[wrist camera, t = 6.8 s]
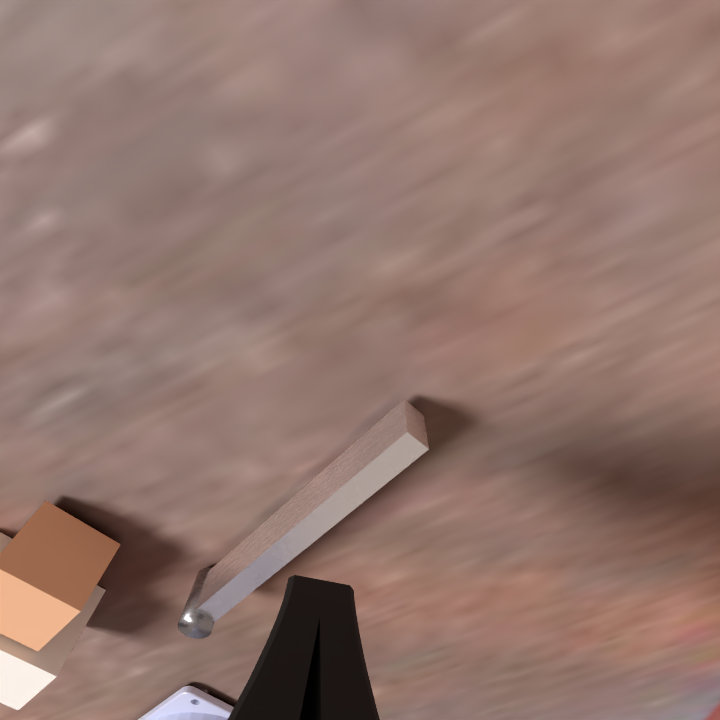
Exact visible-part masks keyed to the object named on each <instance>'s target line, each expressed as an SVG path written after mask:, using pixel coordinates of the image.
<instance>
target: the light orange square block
mask: <svg viewBox="0 0 720 720" xmlns="http://www.w3.org/2000/svg"><path fill="white" fill-rule="evenodd" d="M120 545H121V544H119V543H117V542H116V541H114V540H112V539H111V538H109V537H107V536H105V535H104V534H102V533H100V532H99V531H97V530H95V529H93V528H92V527H90V526H88V525H87V524H85V523H83V522H82V521H80V520H78V519H76V518H75V517H73V516H71V515H70V514H68V513H66V512H64V511H63V510H61V509H59V508H58V507H56V506H54V505H52V504H51V503H49V502H47V501H45V502H44V503H43V504H42V506H41V507H40V508H39V509H38V510H37V511H36V513H35V514H34V515H33V516H32V517H31V518H30V519H29V521H28V522H27V523H26V524H25V525H24V526H23V528H22V529H21V530H20V531H19V532H18V533H17V535H16V536H15V537H14V538H13V539H12V540H11V542H10V543H9V544H8V545H7V546H6V547H5V548H4V550H3V551H2V552H1V553H0V634H3V635H5V636H7V637H9V638H11V639H13V640H15V641H17V642H19V643H21V644H23V645H25V646H27V647H29V648H32V649H34V650H36V651H39V650H40V649H41V648H42V647H43V646H45V645H46V644H47V643H48V642H49V641H50V640H51V639H52V638H53V637H54V636H55V635H56V634H57V633H58V632H59V631H60V630H61V629H63V628H64V627H65V626H66V625H67V624H68V623H69V622H70V621H71V620H72V619H73V618H74V617H75V616H76V615H77V614H78V613H80V612H81V610H82V608H83V607H84V605H85V603H86V602H87V600H88V598H89V597H90V595H91V593H92V592H93V590H94V588H95V587H96V585H97V583H98V582H99V580H100V578H101V577H102V575H103V573H104V572H105V570H106V568H107V567H108V565H109V563H110V562H111V560H112V558H113V557H114V555H115V553H116V552H117V550H118V548H119V547H120Z"/></svg>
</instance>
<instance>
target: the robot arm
mask: <svg viewBox="0 0 720 720" xmlns="http://www.w3.org/2000/svg"><path fill="white" fill-rule="evenodd" d="M138 720H380V719H379V715H378V712H377V708H376V704H375V700H374V696H373V692H372V688H371V684H370V680H369V676H368V672H367V668H366V663H365V659H364V654H363V649H362V644H361V639H360V634H359V628H358V622H357V616H356V609H355V601H354V590H353V589H352V587H351V586H350V585H345V584H340V583H334V582H329V581H324V580H318V579H313V578H308V577H302V576H297V575H294V576H292V577H289V579H288V583H287V587H286V591H285V595H284V599H283V602H282V605H281V608H280V611H279V613H278V616H277V619H276V621H275V624H274V626H273V628H272V631H271V633H270V636H269V638H268V640H267V643H266V645H265V647H264V649H263V651H262V653H261V655H260V657H259V659H258V662H257V664H256V666H255V668H254V670H253V672H252V674H251V676H250V678H249V680H248V682H247V684H246V686H245V688H244V690H243V692H242V694H241V695H240V697H239V699H238V701H237V703H236V705H235V707H232V706H231V705H229V704H227V703H225V702H223V701H221V700H219V699H217V698H215V697H213V696H211V695H209V694H207V693H205V692H203V691H201V690H199V689H197V688H195V687H193V686H185V687H183V688H181V689H180V690H178V691H177V692H176V693H174V694H173V695H171V696H170V697H169V698H167V699H166V700H165V701H163V702H162V703H160V704H159V705H158V706H156V707H155V708H153V709H152V710H151V711H149V712H148V713H146V714H145V715H144V716H142V717H141V718H139V719H138Z"/></svg>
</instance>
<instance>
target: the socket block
mask: <svg viewBox="0 0 720 720" xmlns="http://www.w3.org/2000/svg"><path fill="white" fill-rule="evenodd" d="M11 540H12V538H10V537H8V536H6V535H4V534H3V533H1V532H0V553H1V552H2V551H3V550H4V548H5V547H6V546H7V545H8V544H9V543H10V542H11ZM105 591H106V590H105V589H103V588H101V587H99V586H97V585H96V587H95V588H94V590H93V592H92V593H91V595H90V597H89V598H88V600H87V602H86V603H85V605H84V607H83V608H82V610H81V612H80V613H78V614H77V615H76V616H75V617H74V618H73V619H72V620H71V621H70V622H69V623H68V624H67V625H66V626H65V627H64V628H63V629H61V630H60V631H59V632H58V633H57V634H56V635H55V636H54V637H53V638H52V639H51V640H50V641H49V642H48V643H47V644H46V645H45V646H43V647H42V648H41V649H40V650H39V651H36V650H34V649H32V648H29V647H27V646H25V645H23V644H21V643H19V642H17V641H15V640H13V639H11V638H9V637H7V636H5V635H3V634H0V703H3V704H5V705H7V706H9V707H12V708H14V709H16V710H19V709H20V708H21V707H22V706H24V705H25V704H26V703H27V702H28V701H29V700H30V699H32V698H33V697H34V696H35V695H36V694H37V693H38V692H40V691H41V690H42V689H43V688H44V687H45V686H46V685H48V684H49V683H50V682H51V681H52V680H53V679H54V678H56V677H57V675H58V673H59V672H60V670H61V668H62V666H63V665H64V663H65V661H66V659H67V658H68V656H69V654H70V652H71V651H72V649H73V647H74V645H75V644H76V642H77V640H78V638H79V637H80V635H81V633H82V631H83V630H84V628H85V626H86V624H87V623H88V621H89V619H90V617H91V616H92V614H93V612H94V610H95V609H96V607H97V605H98V603H99V602H100V600H101V598H102V596H103V595H104V593H105Z"/></svg>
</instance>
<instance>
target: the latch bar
mask: <svg viewBox="0 0 720 720" xmlns="http://www.w3.org/2000/svg"><path fill="white" fill-rule="evenodd" d="M427 450H429V447H428V440H427V434H426V427H425V421H424V415H423V414H421V413H420V412H419V411H418V410H417V409H415V408H414V407H413V406H412V405H411V404H409V403H408V402H407V401H406V400H402V401H401V402H400V403H399V404H398V405H397V406H396V407H394V408H393V409H392V410H391V411H390V412H389V413H388V414H386V415H385V416H384V417H383V418H382V419H381V420H380V421H379V422H377V423H376V424H375V425H374V426H373V427H372V428H371V429H369V430H368V431H367V432H366V433H365V434H364V435H363V436H361V437H360V438H359V439H358V440H357V441H356V442H355V443H354V444H352V445H351V446H350V447H349V448H348V449H347V450H346V451H344V452H343V453H342V454H341V455H340V456H339V457H338V458H336V459H335V460H334V461H333V462H332V463H331V464H330V465H328V466H327V467H326V468H325V469H324V470H323V471H322V472H321V473H319V474H318V475H317V476H316V477H315V478H314V479H313V480H311V481H310V482H309V483H308V484H307V485H306V486H305V487H303V488H302V489H301V490H300V491H299V492H298V493H297V494H296V495H294V496H293V497H292V498H291V499H290V500H289V501H288V502H286V503H285V504H284V505H283V506H282V507H281V508H280V509H278V510H277V511H276V512H275V513H274V514H273V515H272V516H271V517H269V518H268V519H267V520H266V521H265V522H264V523H263V524H261V525H260V526H259V527H258V528H257V529H256V530H255V531H253V532H252V533H251V534H250V535H249V536H248V537H247V538H246V539H244V540H243V541H242V542H241V543H240V544H239V545H238V546H236V547H235V548H234V549H233V550H232V551H231V552H230V553H228V554H227V555H226V556H225V557H224V558H223V559H222V560H221V561H219V562H218V563H217V564H216V565H215V566H214V567H213V568H204V569H202V570H200V571H199V572H198V574H197V577H196V579H195V582H194V585H193V587H192V590H191V592H190V595H189V597H188V600H187V602H186V605H185V608H184V610H183V613H182V615H181V618H180V620H179V623H178V628H179V630H180V632H181V633H183V634H184V635H186V636H188V637H191V638H205V637H207V636H209V635H210V634H211V631H212V628H213V625H214V622H215V621H217V620H218V619H219V618H220V617H221V616H223V615H224V614H225V613H226V612H228V611H229V610H230V609H231V608H233V607H234V606H235V605H236V604H238V603H239V602H240V601H241V600H243V599H244V598H245V597H246V596H248V595H249V594H250V593H251V592H252V591H254V590H255V589H256V588H257V587H259V586H260V585H261V584H262V583H264V582H265V581H266V580H267V579H269V578H270V577H271V576H272V575H274V574H275V573H276V572H277V571H279V570H280V569H281V568H282V567H284V566H285V565H286V564H287V563H288V562H290V561H291V560H292V559H293V558H295V557H296V556H297V555H298V554H300V553H301V552H302V551H303V550H305V549H306V548H307V547H308V546H310V545H311V544H312V543H313V542H315V541H316V540H317V539H318V538H319V537H321V536H322V535H323V534H324V533H326V532H327V531H328V530H329V529H331V528H332V527H333V526H334V525H336V524H337V523H338V522H339V521H341V520H342V519H343V518H344V517H346V516H347V515H348V514H349V513H350V512H352V511H353V510H354V509H355V508H357V507H358V506H359V505H360V504H362V503H363V502H364V501H365V500H367V499H368V498H369V497H370V496H372V495H373V494H374V493H375V492H377V491H378V490H379V489H380V488H381V487H383V486H384V485H385V484H386V483H388V482H389V481H390V480H391V479H393V478H394V477H395V476H396V475H398V474H399V473H400V472H401V471H403V470H404V469H405V468H406V467H408V466H409V465H410V464H411V463H412V462H414V461H415V460H416V459H417V458H419V457H420V456H421V455H422V454H424V453H425V452H426V451H427Z"/></svg>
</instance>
